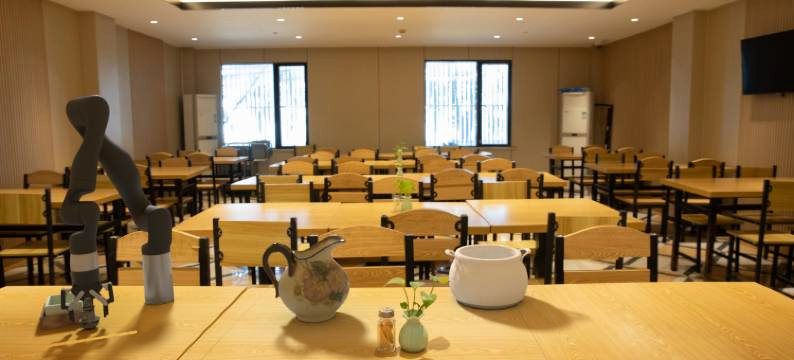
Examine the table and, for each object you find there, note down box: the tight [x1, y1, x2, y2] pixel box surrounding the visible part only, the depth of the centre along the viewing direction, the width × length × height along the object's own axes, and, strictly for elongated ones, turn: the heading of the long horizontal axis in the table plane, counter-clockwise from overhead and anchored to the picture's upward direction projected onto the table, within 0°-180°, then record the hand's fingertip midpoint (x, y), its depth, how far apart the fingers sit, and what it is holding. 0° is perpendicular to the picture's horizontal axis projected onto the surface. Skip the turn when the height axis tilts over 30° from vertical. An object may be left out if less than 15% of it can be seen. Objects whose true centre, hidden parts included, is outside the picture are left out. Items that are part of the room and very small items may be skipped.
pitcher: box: [261, 234, 351, 323], centre depth 190 cm, size 22×24×25 cm
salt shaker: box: [79, 297, 101, 331], centre depth 182 cm, size 6×6×12 cm
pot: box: [444, 243, 532, 310], centre depth 205 cm, size 29×26×17 cm
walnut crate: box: [39, 302, 83, 331], centre depth 191 cm, size 13×15×4 cm
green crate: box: [45, 292, 83, 316], centre depth 191 cm, size 10×12×6 cm
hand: (89, 319), depth 182 cm, fingers open, 8 cm apart
